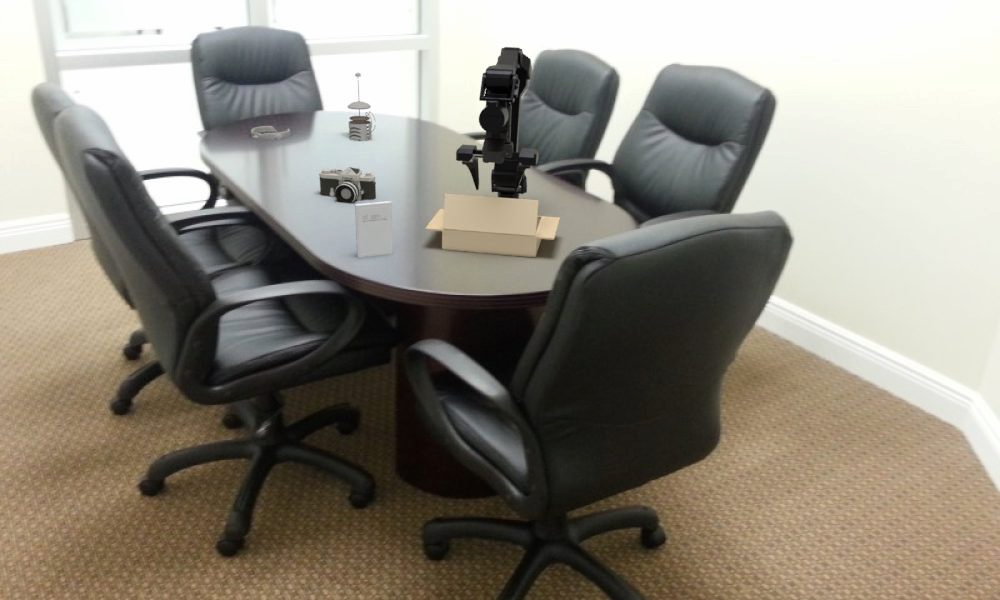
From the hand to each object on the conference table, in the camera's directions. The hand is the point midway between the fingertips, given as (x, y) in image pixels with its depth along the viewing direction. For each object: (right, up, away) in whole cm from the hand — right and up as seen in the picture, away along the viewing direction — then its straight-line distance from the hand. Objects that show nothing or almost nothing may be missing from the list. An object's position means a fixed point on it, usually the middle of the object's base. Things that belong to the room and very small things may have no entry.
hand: (496, 191), depth 192 cm
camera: (-42, +1, +31) cm, 52 cm away
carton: (-1, -12, +3) cm, 12 cm away
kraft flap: (-1, -6, -6) cm, 9 cm away
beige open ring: (-80, +29, +95) cm, 127 cm away
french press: (-48, +29, +95) cm, 110 cm away
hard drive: (-28, -16, -7) cm, 33 cm away
